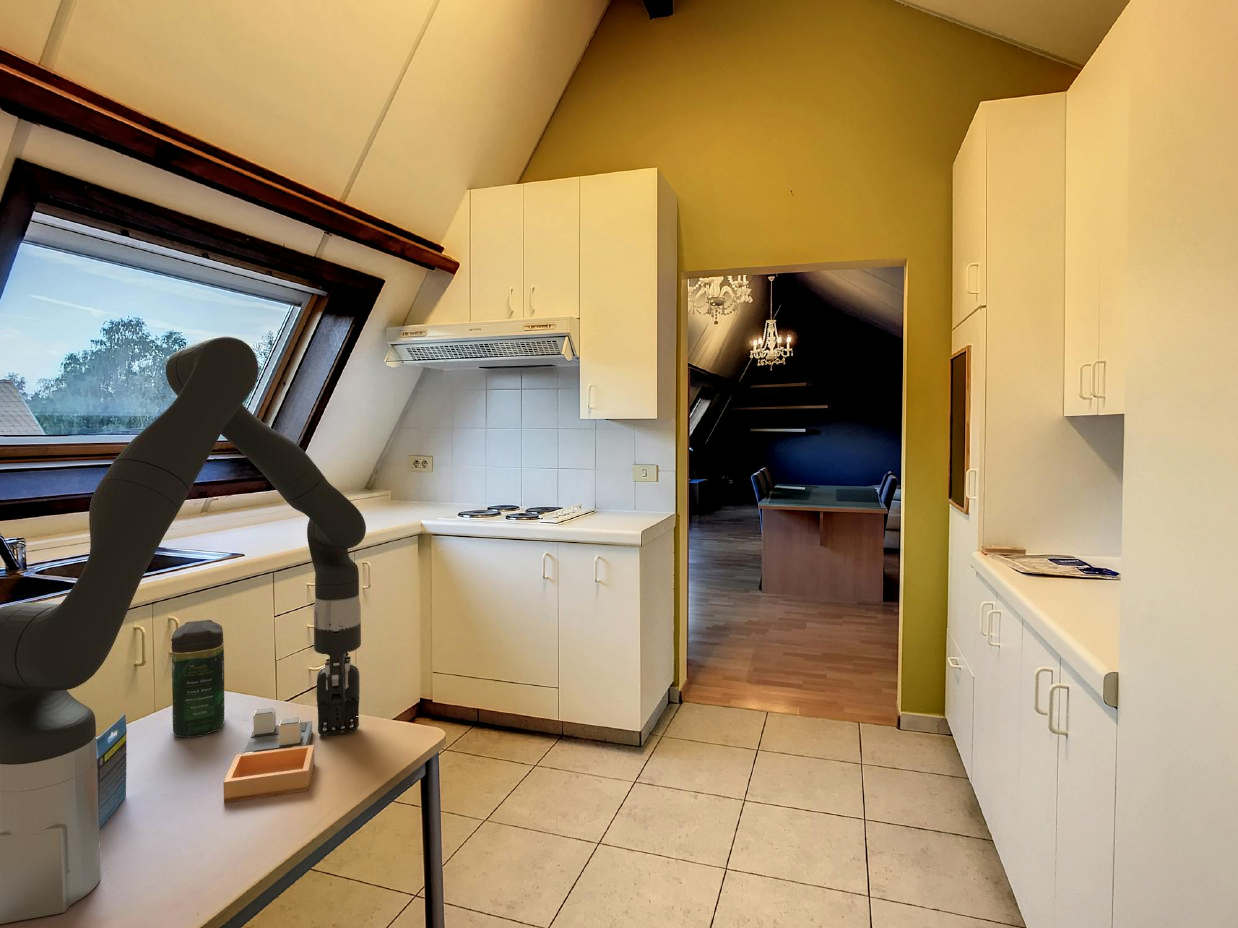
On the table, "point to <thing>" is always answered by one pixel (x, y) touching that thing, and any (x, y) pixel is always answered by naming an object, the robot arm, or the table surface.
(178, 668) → the coffee jar
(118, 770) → the label tape box
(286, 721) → the block
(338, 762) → the table surface
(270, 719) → the breaker
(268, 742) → the panel
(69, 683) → the robot arm
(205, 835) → the table surface
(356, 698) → the battery charger
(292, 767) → the tray
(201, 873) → the table surface
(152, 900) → the table surface
